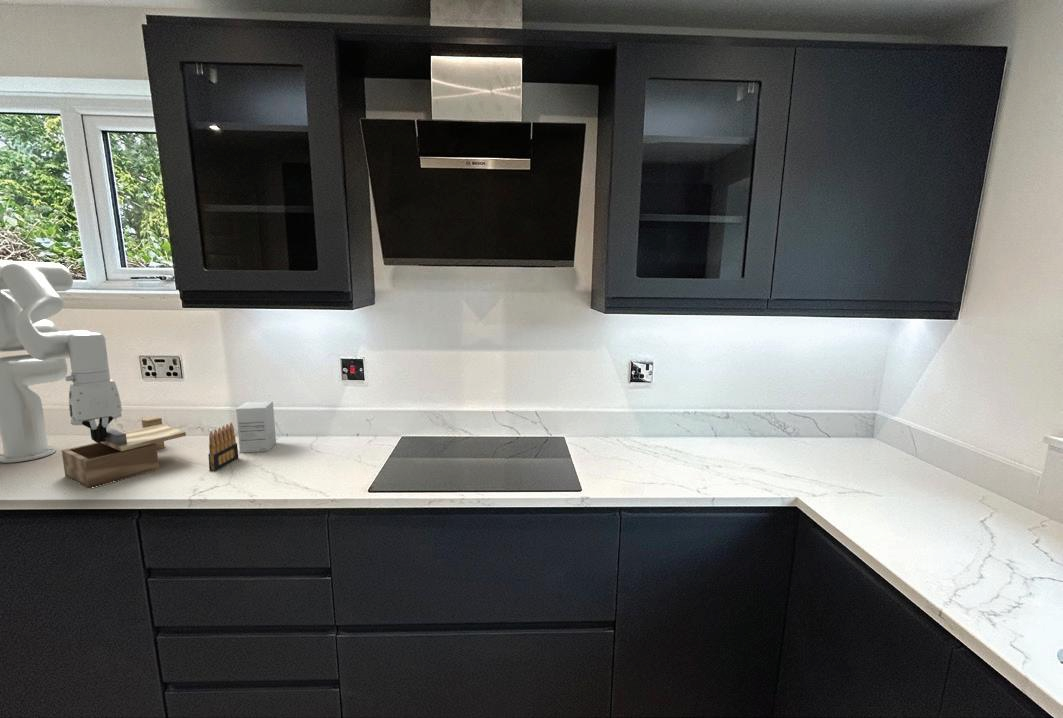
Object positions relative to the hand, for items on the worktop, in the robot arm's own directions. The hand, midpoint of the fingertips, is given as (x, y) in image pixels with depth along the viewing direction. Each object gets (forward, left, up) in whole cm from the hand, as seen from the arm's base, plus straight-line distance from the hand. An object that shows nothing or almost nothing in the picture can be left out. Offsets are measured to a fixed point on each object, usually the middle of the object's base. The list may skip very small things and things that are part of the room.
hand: (99, 441), depth 133 cm
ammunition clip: (+20, +22, -10) cm, 31 cm away
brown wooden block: (-14, +18, -10) cm, 25 cm away
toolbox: (0, +2, -10) cm, 10 cm away
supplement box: (+14, +36, -10) cm, 40 cm away
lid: (0, +10, -2) cm, 10 cm away
